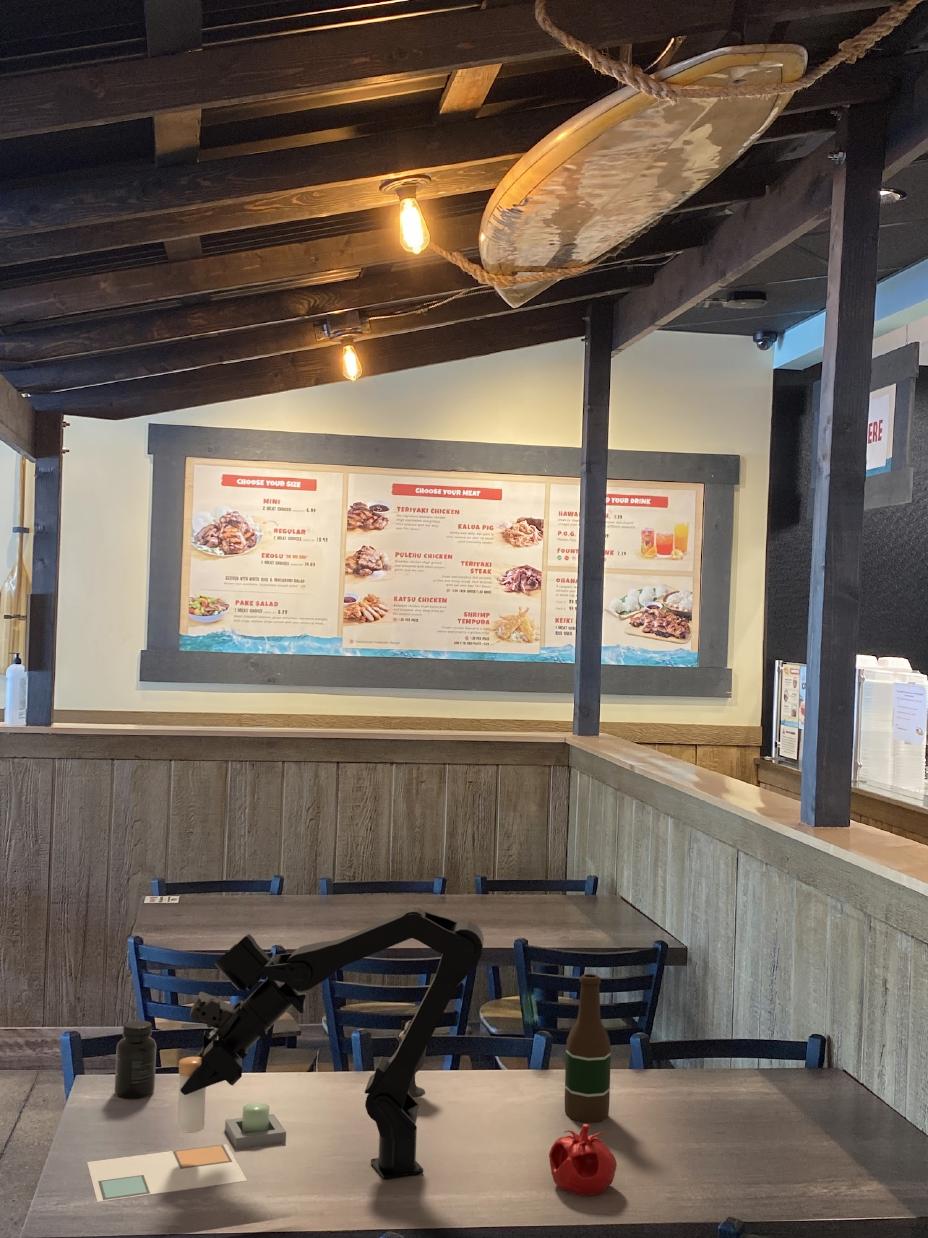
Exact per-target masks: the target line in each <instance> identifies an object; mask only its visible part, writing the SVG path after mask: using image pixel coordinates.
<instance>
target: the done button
mask: <svg viewBox="0 0 928 1238" xmlns="http://www.w3.org/2000/svg"><path fill="white" fill-rule="evenodd" d="M269 1114H270V1105H269V1104H267V1103H264V1102H250V1103H246V1104H245V1105H243V1107H242V1118H243V1119H242V1133H243V1134H246V1133H254V1132H262V1131H269Z"/></svg>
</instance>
